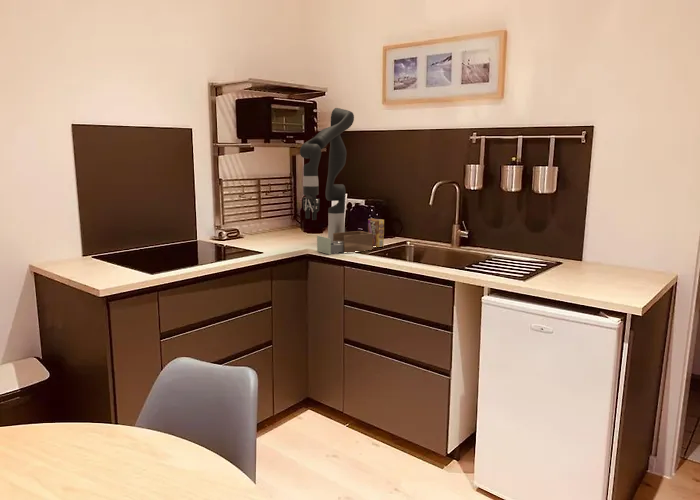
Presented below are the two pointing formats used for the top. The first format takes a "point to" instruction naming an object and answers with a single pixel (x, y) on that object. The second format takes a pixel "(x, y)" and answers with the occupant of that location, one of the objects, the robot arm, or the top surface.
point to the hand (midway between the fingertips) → (311, 219)
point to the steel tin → (338, 242)
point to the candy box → (376, 231)
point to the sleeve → (355, 240)
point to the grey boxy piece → (328, 246)
